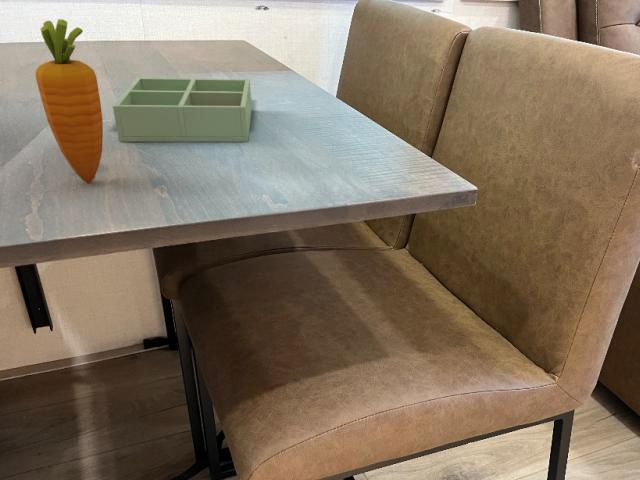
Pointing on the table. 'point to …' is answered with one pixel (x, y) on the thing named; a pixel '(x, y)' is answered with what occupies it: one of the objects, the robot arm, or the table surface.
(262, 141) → the table surface
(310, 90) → the table surface
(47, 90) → the carrot
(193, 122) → the grid
